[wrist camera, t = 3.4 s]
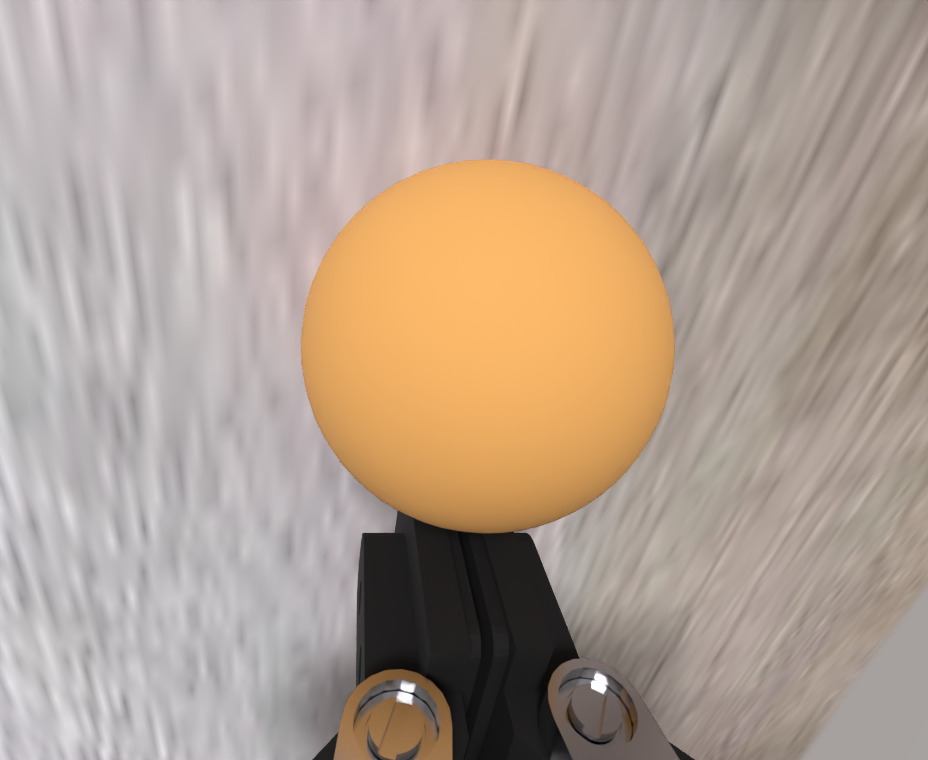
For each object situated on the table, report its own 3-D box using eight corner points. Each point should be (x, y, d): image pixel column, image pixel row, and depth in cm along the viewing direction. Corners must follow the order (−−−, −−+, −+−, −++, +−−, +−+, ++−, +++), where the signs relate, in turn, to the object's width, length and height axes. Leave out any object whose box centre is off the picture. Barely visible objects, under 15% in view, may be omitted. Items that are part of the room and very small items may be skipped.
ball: (469, 71, 8) (602, 33, 4) (633, 296, 10) (837, 436, 6) (253, 292, 9) (153, 470, 5) (446, 453, 11) (502, 674, 7)
